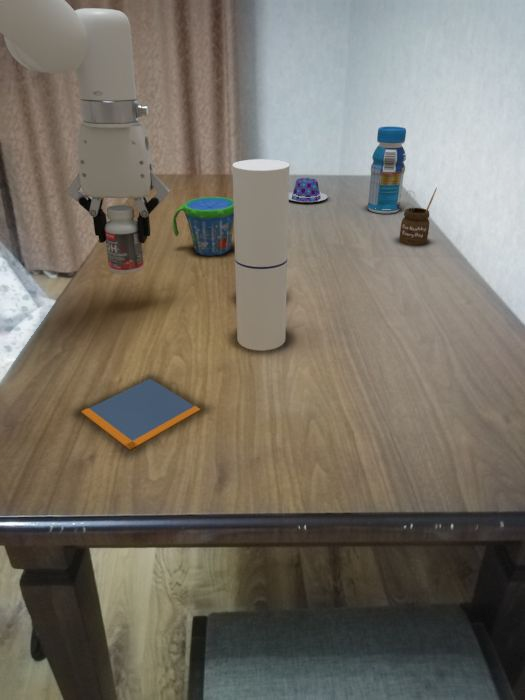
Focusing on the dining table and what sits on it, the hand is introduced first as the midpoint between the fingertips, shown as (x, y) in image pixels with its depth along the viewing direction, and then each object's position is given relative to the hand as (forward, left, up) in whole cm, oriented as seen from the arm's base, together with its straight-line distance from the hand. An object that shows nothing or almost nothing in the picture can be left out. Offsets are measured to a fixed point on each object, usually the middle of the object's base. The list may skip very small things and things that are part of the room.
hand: (123, 239), depth 83 cm
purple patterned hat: (-24, +75, -12) cm, 79 cm away
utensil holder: (+17, +62, -12) cm, 65 cm away
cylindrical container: (+23, +7, -12) cm, 27 cm away
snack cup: (-11, +28, -12) cm, 32 cm away
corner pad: (+25, -16, -12) cm, 32 cm away
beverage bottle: (-2, +80, -12) cm, 81 cm away
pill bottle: (0, 0, -5) cm, 5 cm away
